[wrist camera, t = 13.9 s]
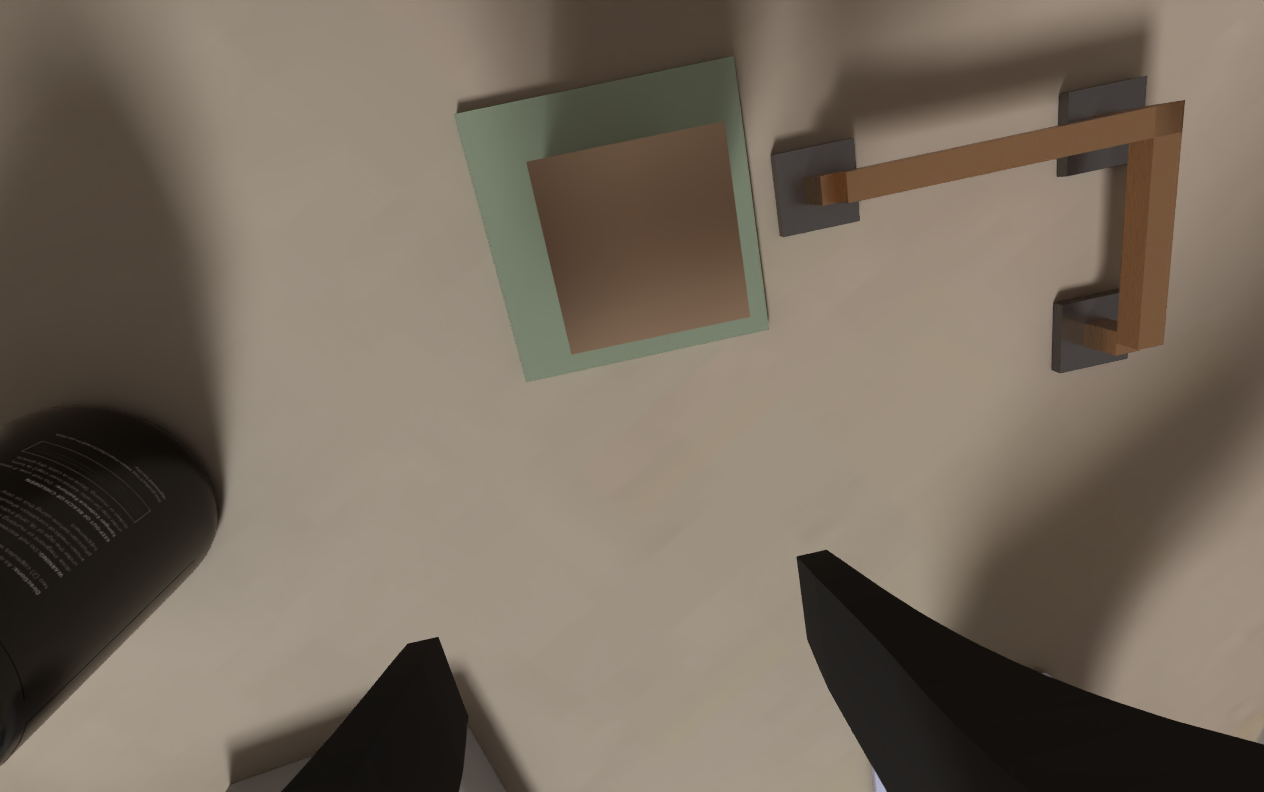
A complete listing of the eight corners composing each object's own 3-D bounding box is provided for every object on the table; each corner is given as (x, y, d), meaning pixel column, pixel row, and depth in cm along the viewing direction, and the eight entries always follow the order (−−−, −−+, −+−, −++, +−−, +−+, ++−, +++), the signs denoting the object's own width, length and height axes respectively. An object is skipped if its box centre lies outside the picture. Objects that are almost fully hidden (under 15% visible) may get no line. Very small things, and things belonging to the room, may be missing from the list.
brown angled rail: (1117, 355, 21) (1184, 375, 19) (802, 425, 21) (830, 453, 19) (1135, 78, 19) (1216, 61, 16) (770, 155, 18) (799, 150, 16)
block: (698, 280, 19) (750, 316, 13) (573, 306, 19) (571, 354, 13) (677, 144, 18) (724, 121, 12) (542, 172, 18) (526, 161, 12)
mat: (766, 327, 20) (769, 329, 20) (527, 379, 20) (526, 382, 20) (731, 57, 17) (733, 55, 17) (455, 115, 17) (454, 114, 17)
